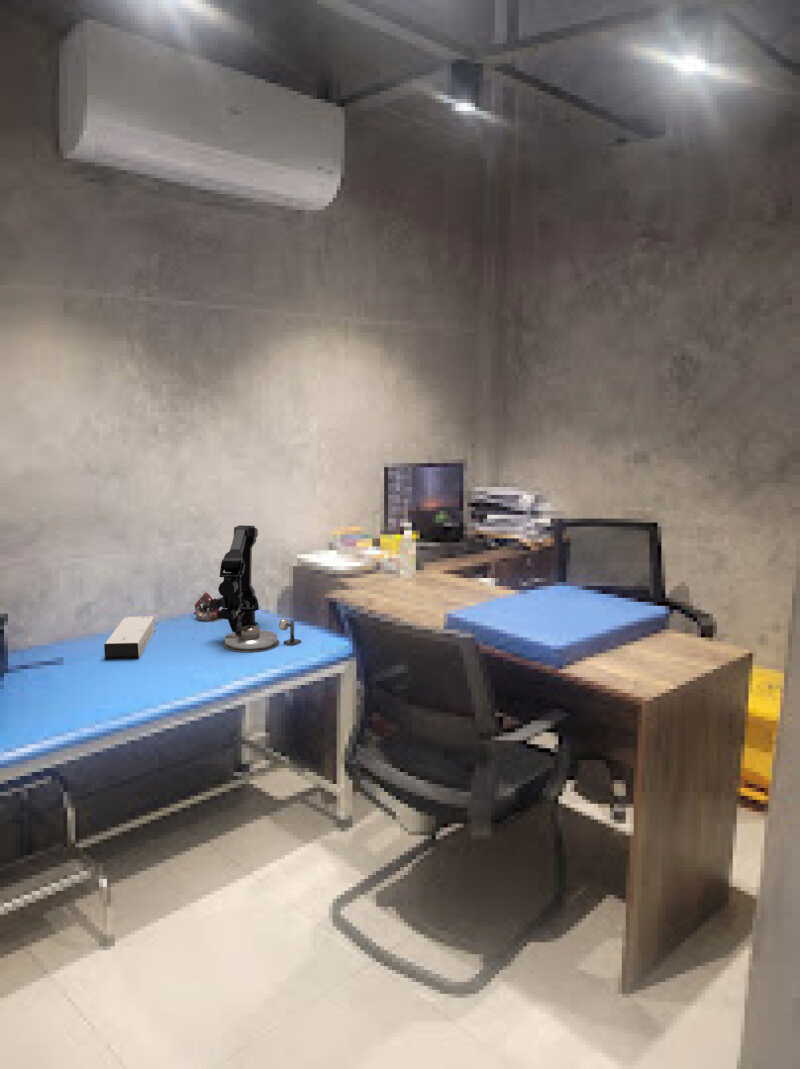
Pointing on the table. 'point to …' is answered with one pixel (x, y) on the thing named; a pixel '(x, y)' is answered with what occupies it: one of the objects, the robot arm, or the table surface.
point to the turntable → (238, 643)
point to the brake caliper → (205, 609)
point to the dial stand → (284, 626)
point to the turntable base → (251, 650)
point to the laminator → (130, 638)
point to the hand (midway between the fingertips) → (234, 631)
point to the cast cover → (250, 632)
